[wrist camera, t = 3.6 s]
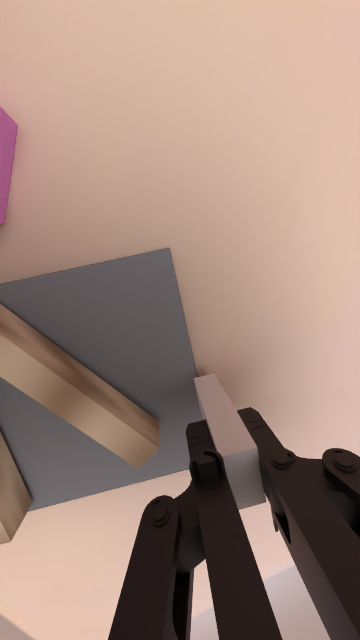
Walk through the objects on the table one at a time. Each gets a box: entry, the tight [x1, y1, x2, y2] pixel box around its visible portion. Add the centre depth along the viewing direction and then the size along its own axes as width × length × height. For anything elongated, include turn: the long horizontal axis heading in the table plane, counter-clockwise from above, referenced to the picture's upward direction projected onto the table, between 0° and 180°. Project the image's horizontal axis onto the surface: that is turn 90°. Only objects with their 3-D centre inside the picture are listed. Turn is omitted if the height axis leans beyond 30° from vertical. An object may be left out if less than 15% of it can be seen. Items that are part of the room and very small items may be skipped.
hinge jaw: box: [0, 304, 159, 469], centre depth 14 cm, size 14×2×2 cm, turn 48°
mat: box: [0, 248, 203, 512], centre depth 16 cm, size 17×16×1 cm
